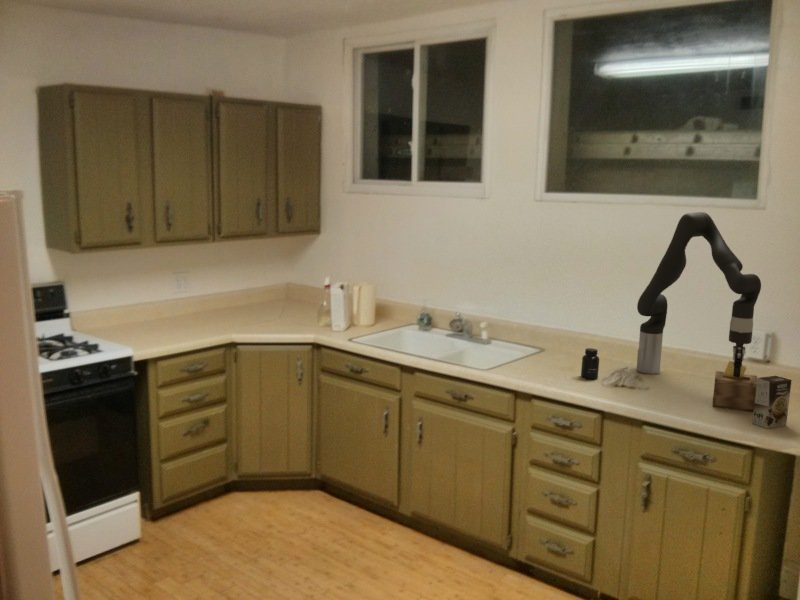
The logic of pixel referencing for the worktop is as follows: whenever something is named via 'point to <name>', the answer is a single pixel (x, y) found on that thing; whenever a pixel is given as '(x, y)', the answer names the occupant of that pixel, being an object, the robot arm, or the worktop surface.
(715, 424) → the worktop surface
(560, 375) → the worktop surface
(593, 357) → the supplement bottle
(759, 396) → the coffee box
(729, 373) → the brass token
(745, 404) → the box
